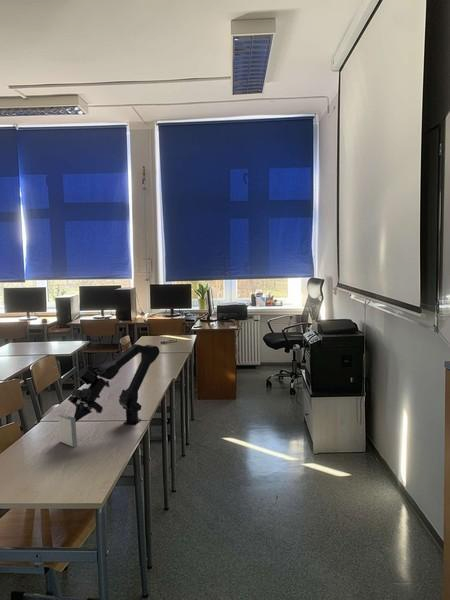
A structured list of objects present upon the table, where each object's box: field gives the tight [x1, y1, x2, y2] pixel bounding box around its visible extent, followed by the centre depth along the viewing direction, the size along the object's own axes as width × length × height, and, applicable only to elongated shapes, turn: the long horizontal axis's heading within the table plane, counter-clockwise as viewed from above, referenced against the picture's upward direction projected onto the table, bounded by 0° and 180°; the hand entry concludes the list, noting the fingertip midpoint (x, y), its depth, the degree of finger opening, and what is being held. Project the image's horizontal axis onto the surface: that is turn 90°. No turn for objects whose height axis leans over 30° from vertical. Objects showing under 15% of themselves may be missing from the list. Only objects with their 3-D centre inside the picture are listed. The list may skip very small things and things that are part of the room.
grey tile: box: [58, 413, 78, 448], centre depth 191 cm, size 2×10×12 cm, turn 51°
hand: (74, 421), depth 194 cm, fingers closed
